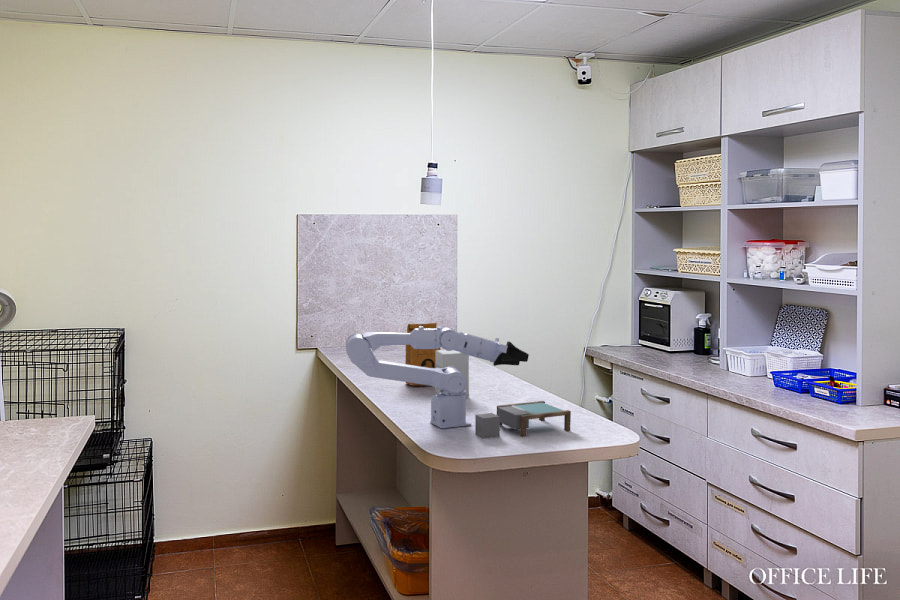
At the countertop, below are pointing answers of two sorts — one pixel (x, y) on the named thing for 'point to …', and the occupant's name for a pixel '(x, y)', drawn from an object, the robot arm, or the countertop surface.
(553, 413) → the frame
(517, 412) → the trapdoor
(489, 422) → the gray block
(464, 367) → the supplement box
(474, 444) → the countertop surface
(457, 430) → the countertop surface
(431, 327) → the coffee package
